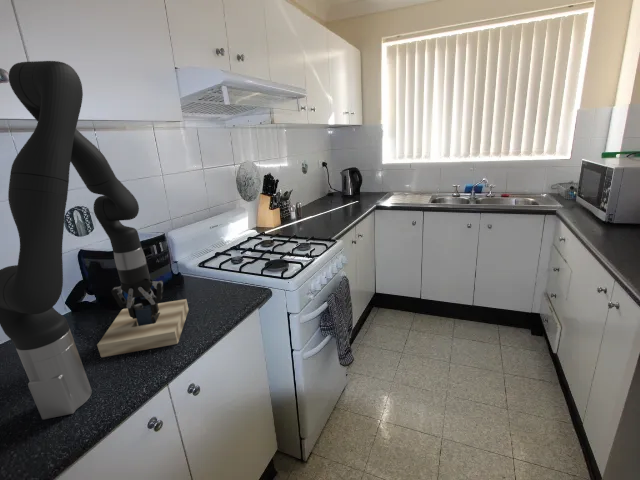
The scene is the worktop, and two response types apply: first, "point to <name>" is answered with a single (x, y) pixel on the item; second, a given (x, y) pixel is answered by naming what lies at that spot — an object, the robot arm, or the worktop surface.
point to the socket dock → (144, 330)
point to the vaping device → (144, 312)
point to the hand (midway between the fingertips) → (145, 315)
